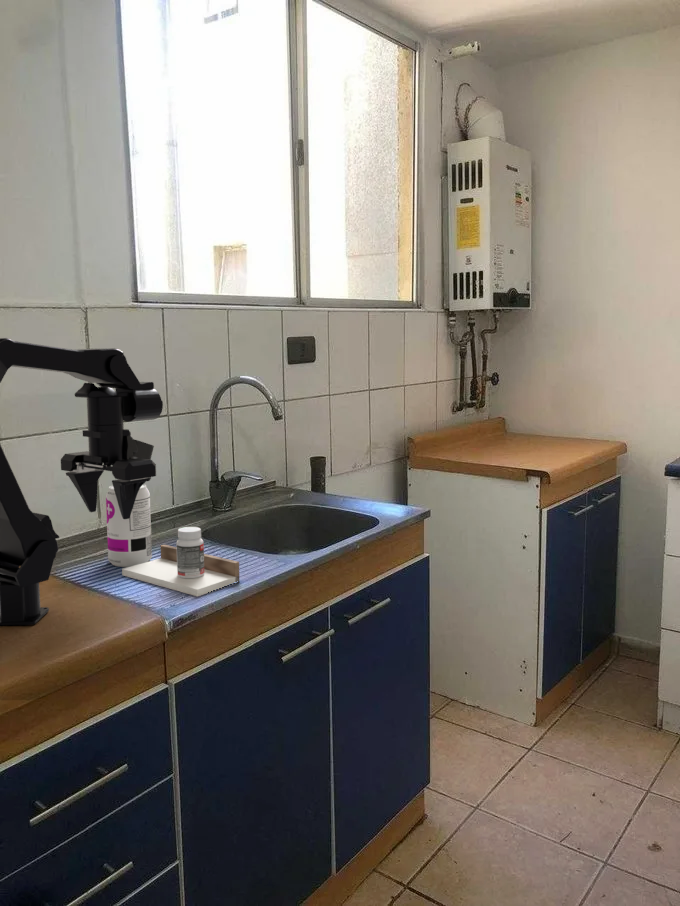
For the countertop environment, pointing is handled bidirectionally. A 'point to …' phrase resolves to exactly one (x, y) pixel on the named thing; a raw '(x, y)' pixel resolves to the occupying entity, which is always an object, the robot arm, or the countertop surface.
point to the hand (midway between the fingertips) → (109, 515)
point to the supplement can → (129, 530)
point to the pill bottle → (190, 553)
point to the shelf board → (165, 575)
